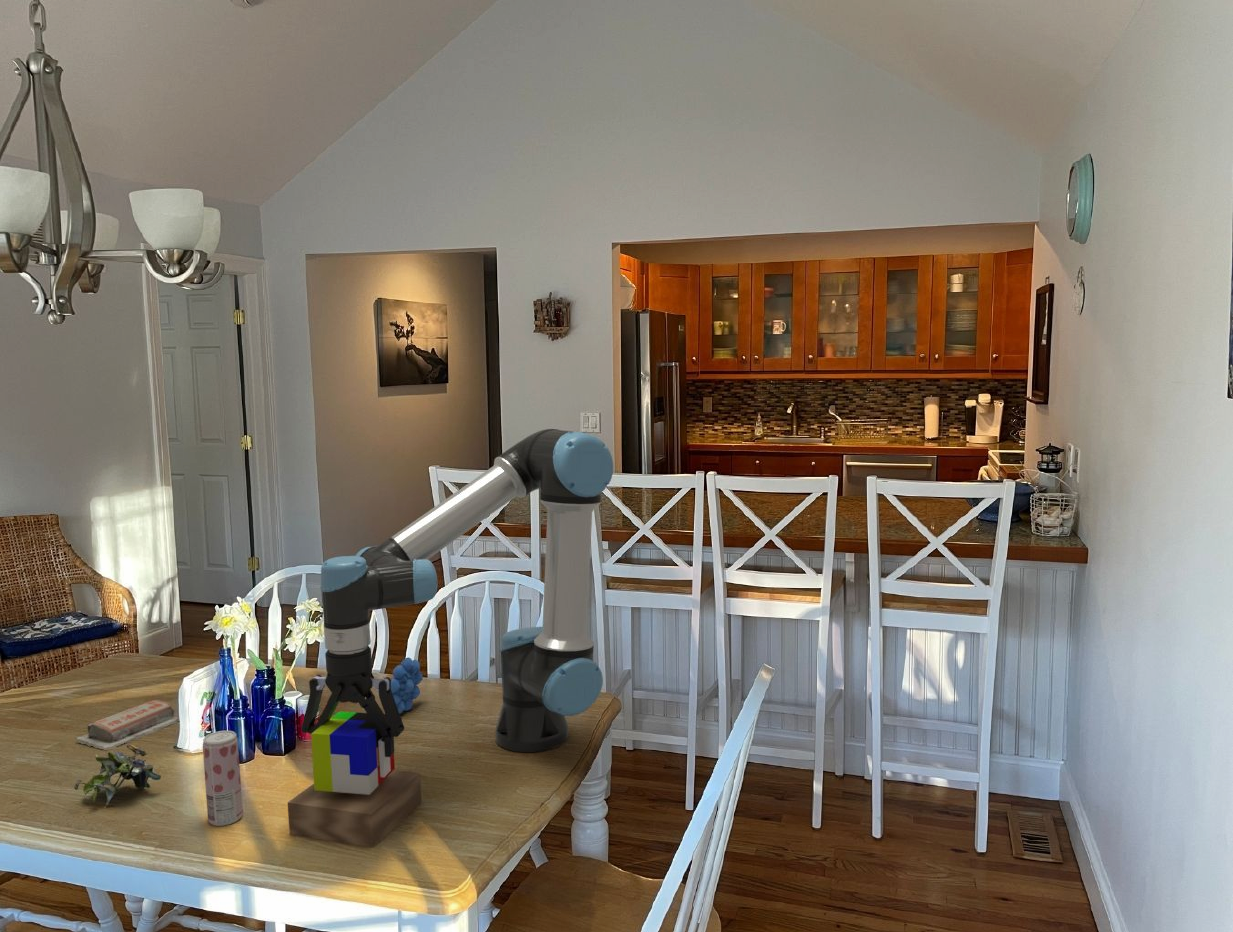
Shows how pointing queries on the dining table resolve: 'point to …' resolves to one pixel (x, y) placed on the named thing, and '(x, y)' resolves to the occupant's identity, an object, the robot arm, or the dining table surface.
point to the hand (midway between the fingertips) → (355, 772)
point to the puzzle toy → (347, 755)
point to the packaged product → (129, 725)
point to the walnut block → (355, 811)
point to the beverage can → (222, 778)
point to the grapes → (406, 684)
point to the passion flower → (120, 765)
